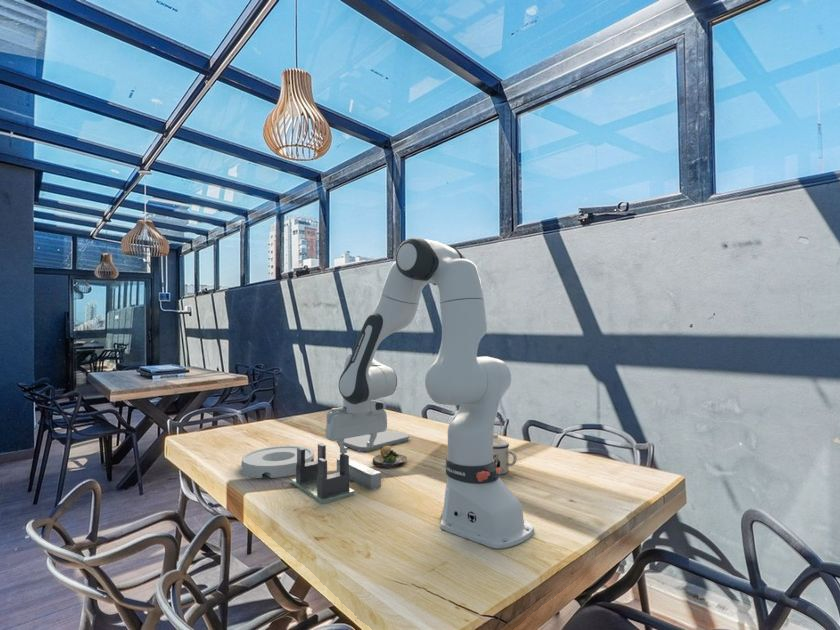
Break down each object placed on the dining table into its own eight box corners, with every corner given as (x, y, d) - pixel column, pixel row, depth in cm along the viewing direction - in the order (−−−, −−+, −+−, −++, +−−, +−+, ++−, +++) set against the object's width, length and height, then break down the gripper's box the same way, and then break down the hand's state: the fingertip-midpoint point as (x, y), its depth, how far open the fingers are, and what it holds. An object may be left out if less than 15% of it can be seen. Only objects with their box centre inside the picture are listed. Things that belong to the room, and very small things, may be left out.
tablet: (337, 445, 170) (337, 440, 170) (386, 434, 188) (386, 429, 188) (363, 454, 158) (363, 448, 158) (412, 440, 177) (412, 435, 177)
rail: (381, 488, 124) (381, 472, 125) (370, 491, 122) (371, 475, 122) (346, 470, 140) (346, 456, 140) (336, 472, 137) (336, 458, 138)
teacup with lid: (475, 471, 138) (475, 434, 138) (489, 464, 145) (489, 429, 146) (510, 479, 131) (509, 440, 131) (522, 471, 138) (522, 435, 138)
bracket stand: (354, 494, 119) (354, 456, 119) (321, 503, 112) (322, 463, 113) (321, 475, 134) (322, 441, 135) (291, 482, 128) (291, 447, 128)
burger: (402, 470, 140) (402, 447, 140) (367, 467, 142) (368, 445, 143) (410, 459, 152) (410, 438, 152) (378, 457, 154) (378, 436, 154)
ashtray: (293, 452, 160) (293, 442, 160) (326, 467, 144) (327, 455, 144) (230, 466, 144) (230, 454, 144) (259, 484, 127) (259, 471, 127)
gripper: (332, 411, 123) (331, 459, 123) (390, 403, 136) (389, 446, 136) (322, 407, 128) (321, 454, 127) (379, 400, 141) (378, 442, 140)
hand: (357, 450), depth 132 cm, fingers open, 8 cm apart
